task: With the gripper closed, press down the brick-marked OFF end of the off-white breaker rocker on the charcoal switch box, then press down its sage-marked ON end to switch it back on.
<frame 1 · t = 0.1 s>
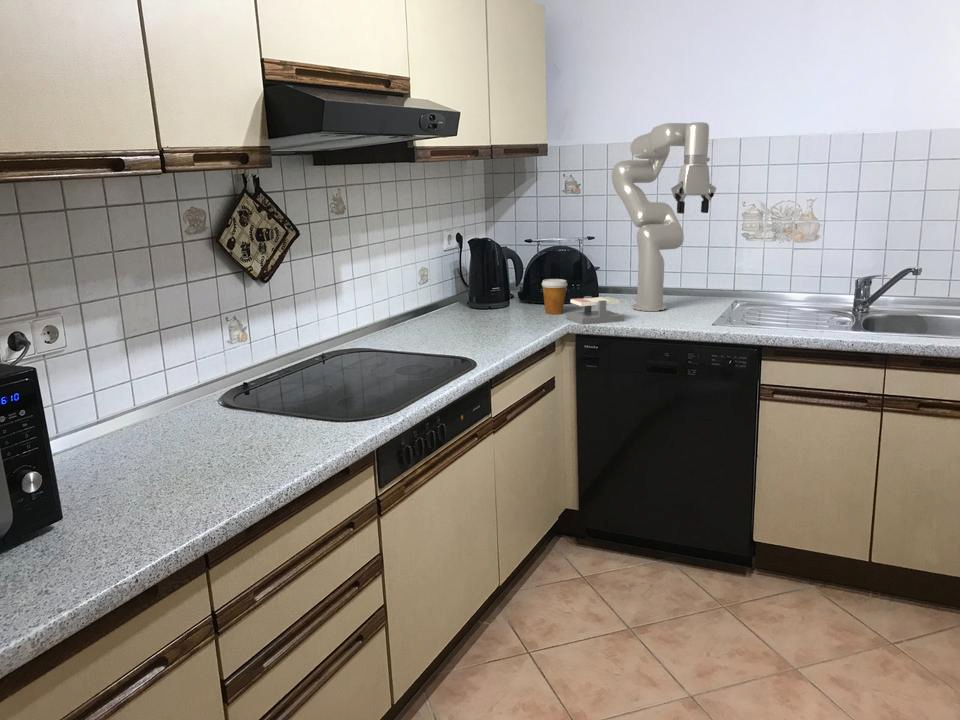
hand: (692, 213, 265), 37 cm above the worktop, tool pointing down, fingers open, 9 cm apart
breaker rocker: (594, 301, 273), point 7 cm above the worktop, hinge at 0.0°
switch box: (594, 319, 274), on the worktop
disposable coffee cup: (553, 313, 288), on the worktop
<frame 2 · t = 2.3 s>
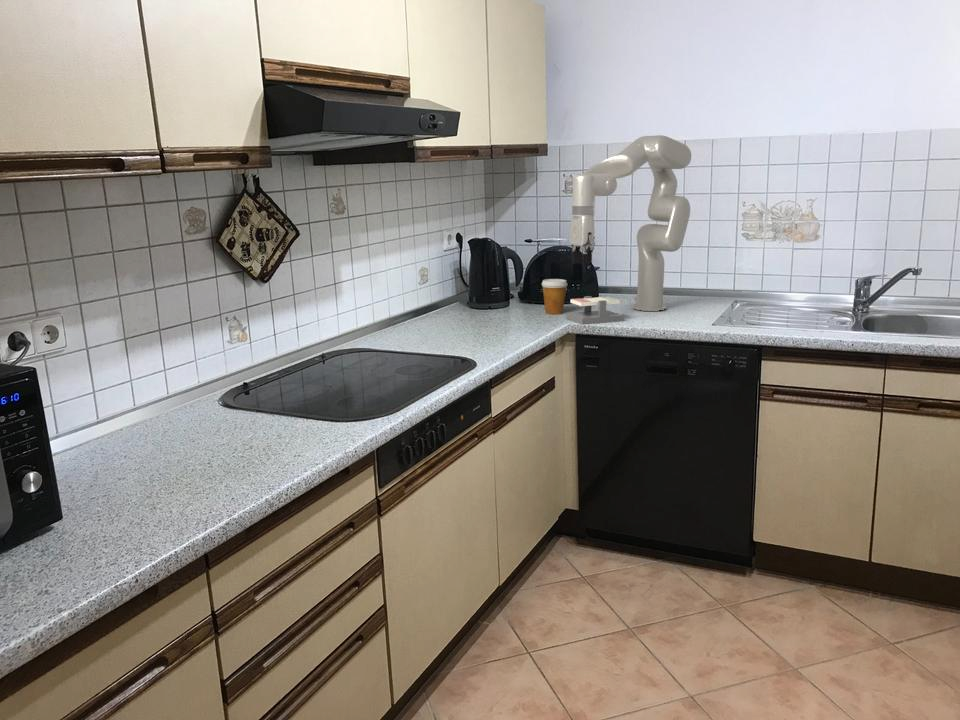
hand: (581, 264, 268), 20 cm above the worktop, tool pointing down, fingers open, 6 cm apart
nothing on the worktop moved.
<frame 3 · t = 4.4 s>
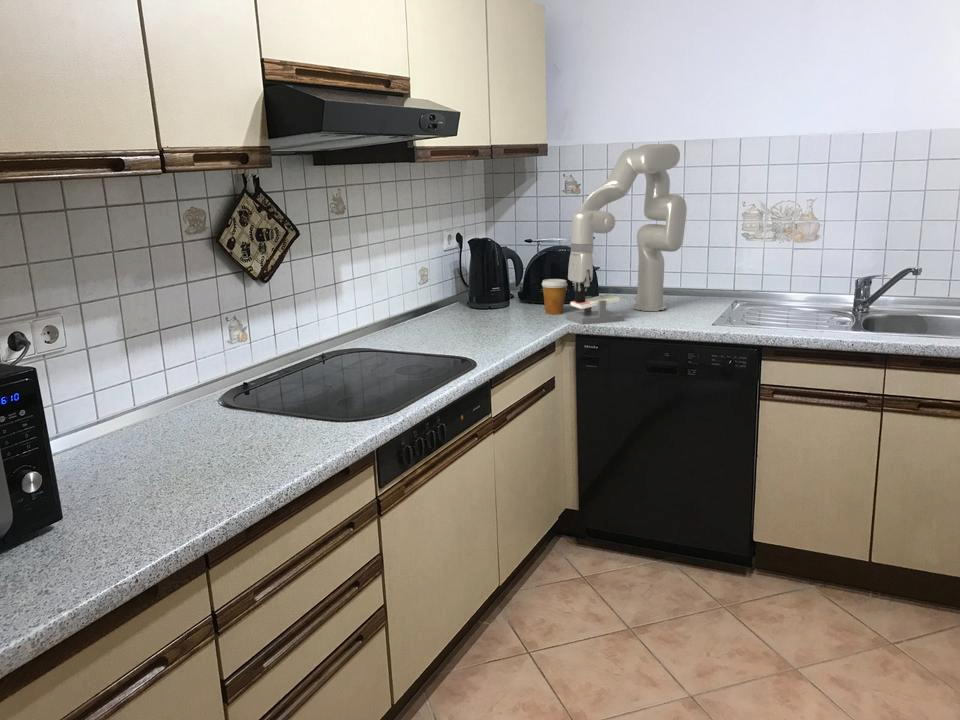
hand: (580, 302, 271), 7 cm above the worktop, tool pointing down, fingers closed
breaker rocker: (594, 301, 273), point 7 cm above the worktop, hinge at 7.3°, touching gripper
everything else where it was.
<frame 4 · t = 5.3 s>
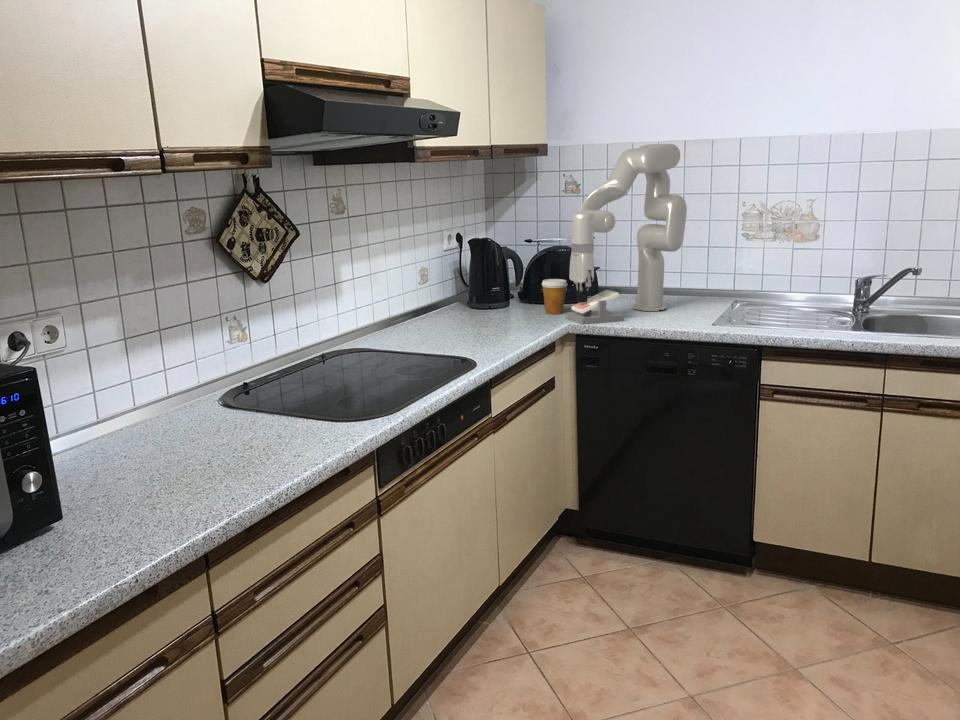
hand: (582, 301, 271), 7 cm above the worktop, tool pointing down, fingers closed
breaker rocker: (594, 301, 273), point 7 cm above the worktop, hinge at 20.6°
everything else where it was.
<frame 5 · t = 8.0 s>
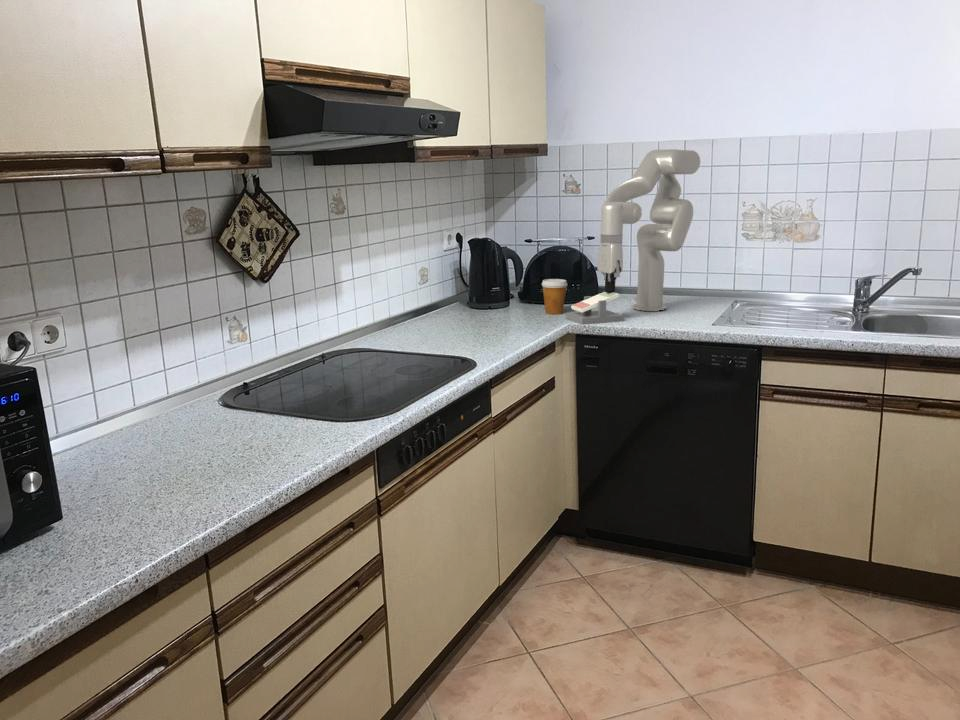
hand: (609, 292, 274), 9 cm above the worktop, tool pointing down, fingers closed
breaker rocker: (594, 301, 273), point 7 cm above the worktop, hinge at 17.7°, touching gripper
everything else where it was.
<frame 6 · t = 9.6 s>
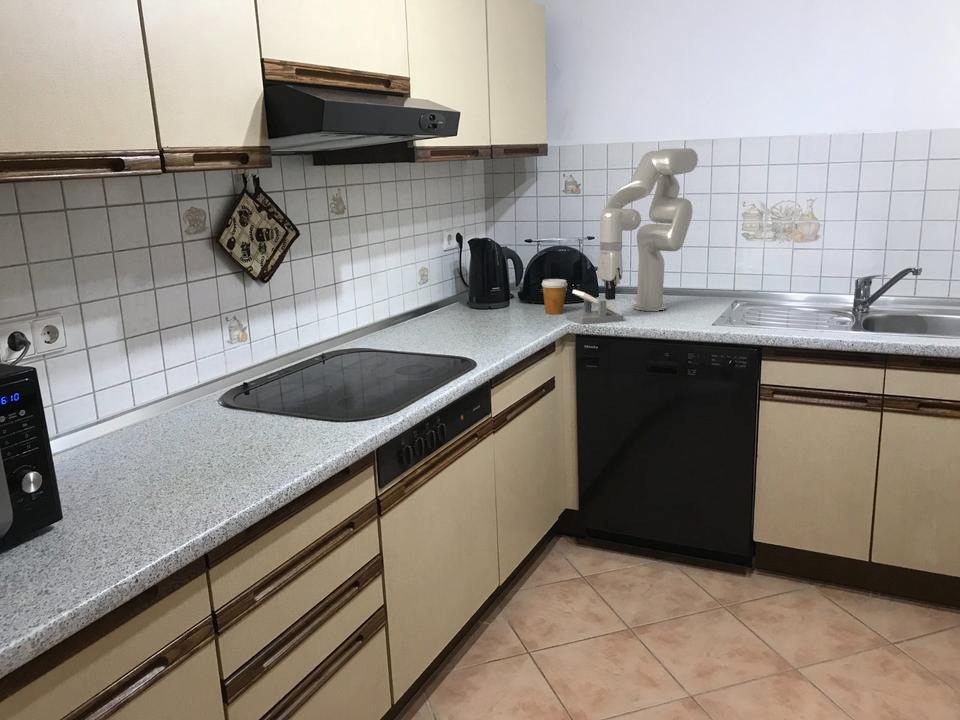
hand: (610, 299, 275), 7 cm above the worktop, tool pointing down, fingers closed
breaker rocker: (595, 301, 273), point 7 cm above the worktop, hinge at -27.1°
everything else where it was.
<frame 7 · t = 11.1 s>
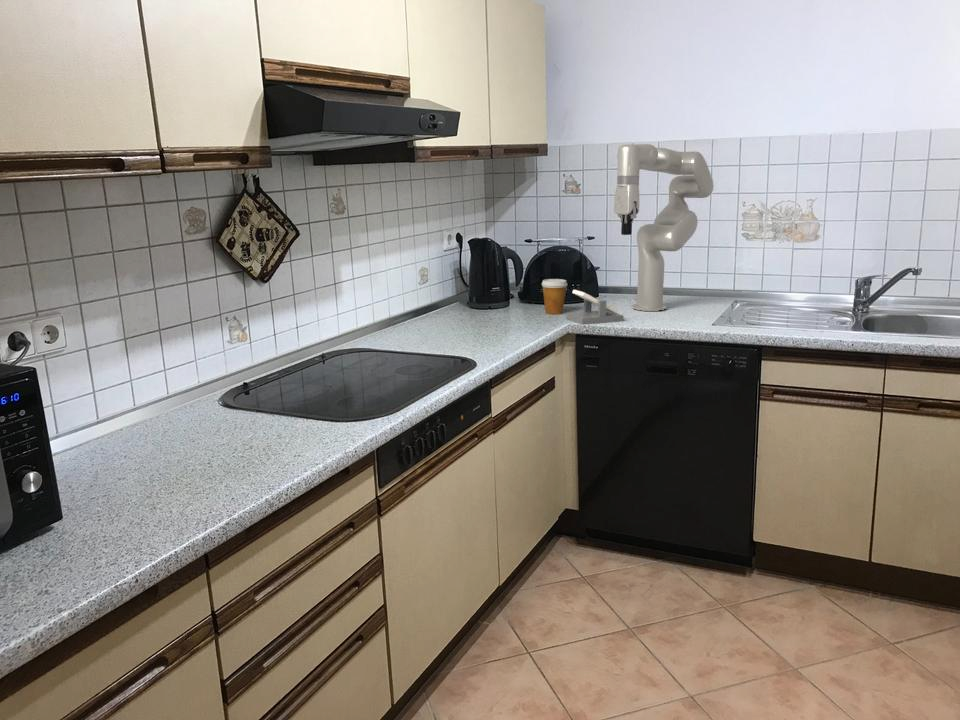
hand: (626, 234, 276), 29 cm above the worktop, tool pointing down, fingers closed
nothing on the worktop moved.
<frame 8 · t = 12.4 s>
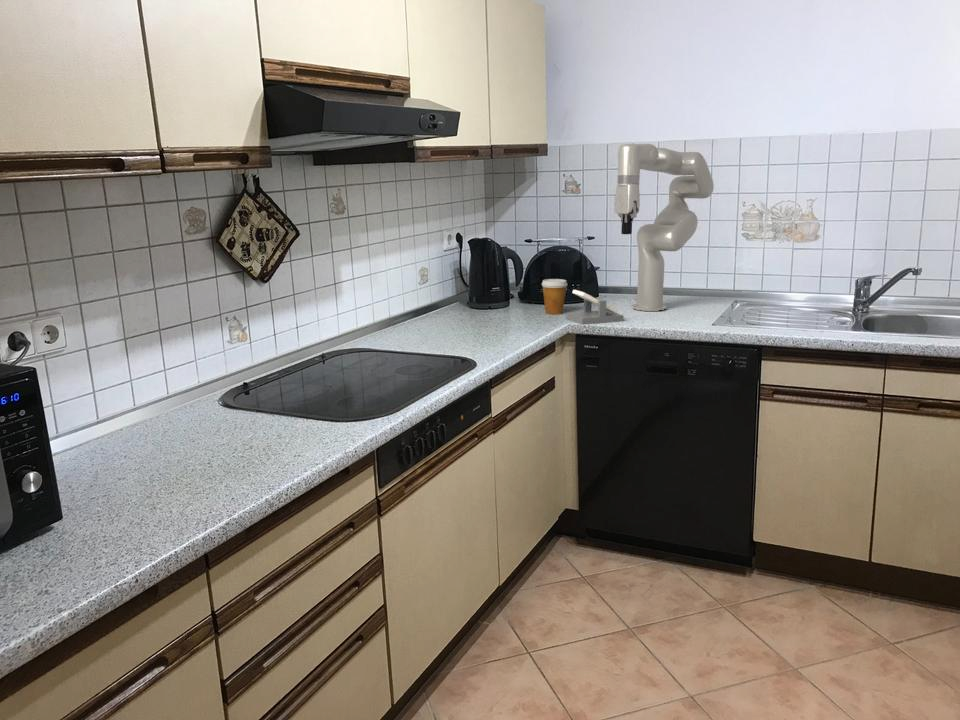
hand: (626, 234, 276), 29 cm above the worktop, tool pointing down, fingers closed
nothing on the worktop moved.
at the end: breaker rocker at -27° (first picture: +0°); disposable coffee cup moved 0.2 cm from its start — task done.
